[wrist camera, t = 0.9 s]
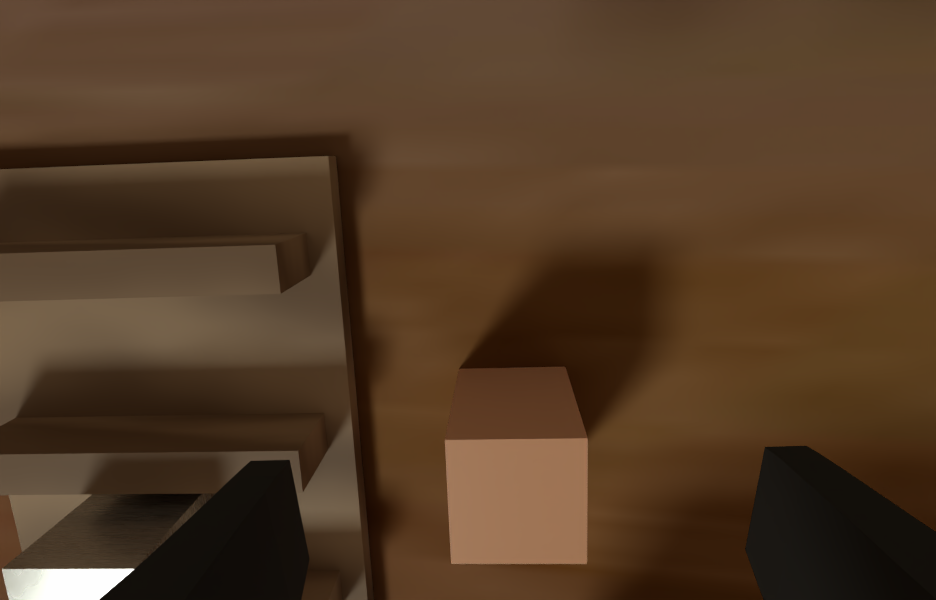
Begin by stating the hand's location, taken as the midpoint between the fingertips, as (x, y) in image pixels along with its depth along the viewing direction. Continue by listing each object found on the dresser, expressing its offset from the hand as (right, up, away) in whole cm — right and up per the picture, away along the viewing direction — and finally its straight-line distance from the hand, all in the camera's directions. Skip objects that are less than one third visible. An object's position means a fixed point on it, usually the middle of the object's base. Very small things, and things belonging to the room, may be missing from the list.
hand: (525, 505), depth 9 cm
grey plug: (-12, -5, +14) cm, 19 cm away
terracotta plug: (+1, -1, +14) cm, 14 cm away
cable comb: (-12, -2, +15) cm, 19 cm away
